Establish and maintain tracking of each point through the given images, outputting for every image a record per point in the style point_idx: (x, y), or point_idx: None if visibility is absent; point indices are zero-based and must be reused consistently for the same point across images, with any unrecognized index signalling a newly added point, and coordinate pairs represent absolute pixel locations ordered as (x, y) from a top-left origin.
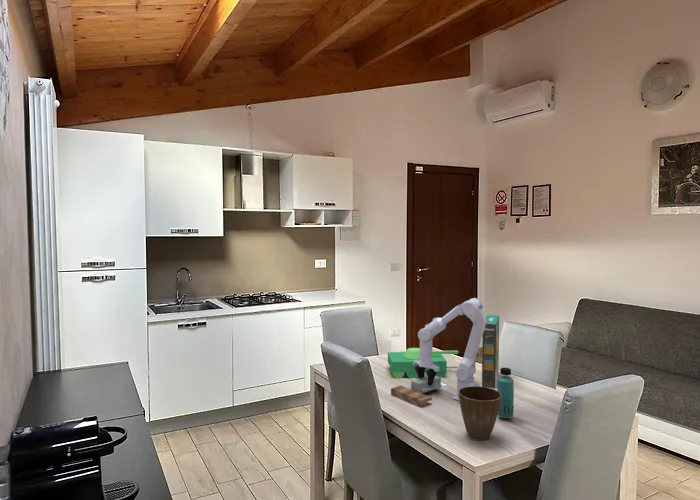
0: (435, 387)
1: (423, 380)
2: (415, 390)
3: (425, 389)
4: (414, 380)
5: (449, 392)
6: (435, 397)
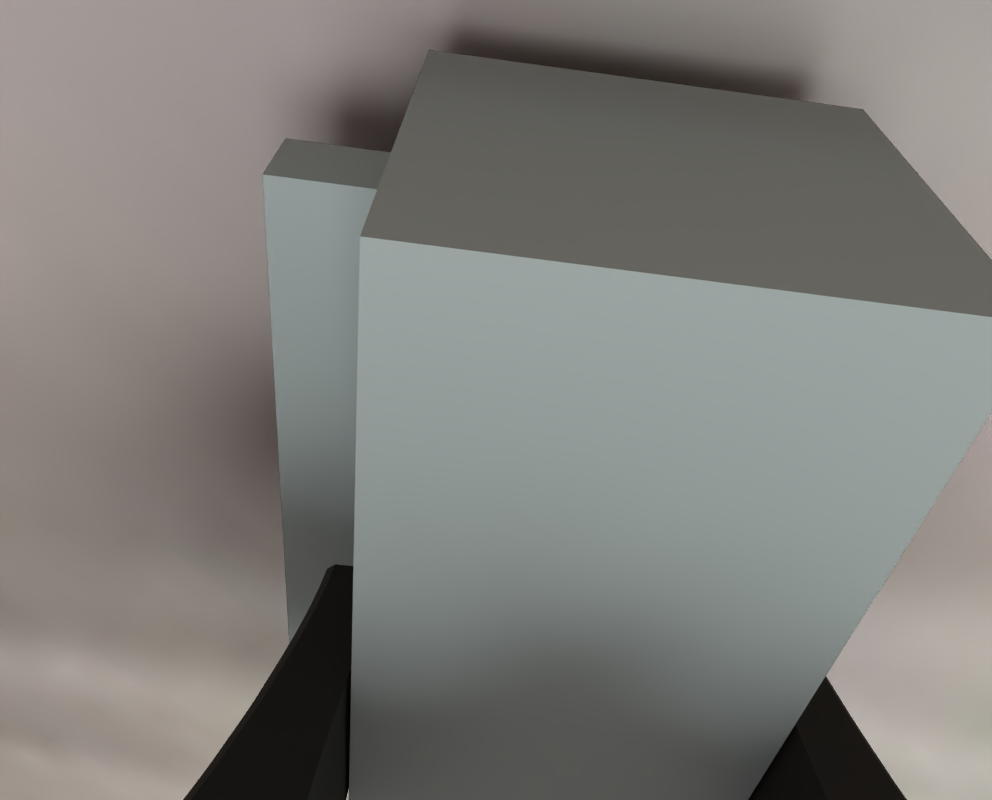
0: (291, 618)
1: (531, 658)
2: (626, 99)
3: (304, 329)
4: (882, 469)
5: (205, 665)
6: (121, 319)
